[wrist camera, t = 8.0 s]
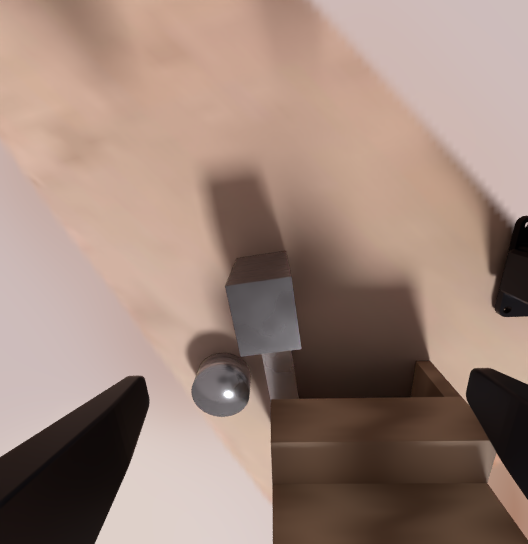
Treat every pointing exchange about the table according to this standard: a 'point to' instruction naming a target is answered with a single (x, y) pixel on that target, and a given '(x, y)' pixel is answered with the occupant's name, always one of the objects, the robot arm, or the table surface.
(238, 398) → the steel token
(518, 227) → the robot arm
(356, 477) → the plinth cabinet
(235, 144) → the table surface
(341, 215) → the table surface
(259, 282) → the grey mallet
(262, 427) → the table surface
